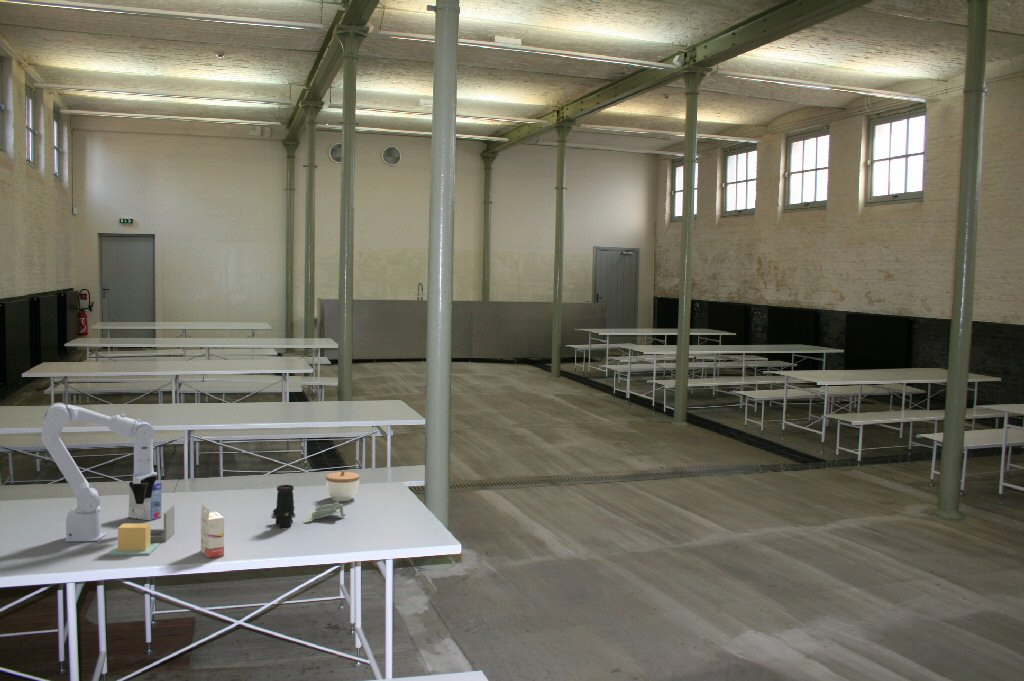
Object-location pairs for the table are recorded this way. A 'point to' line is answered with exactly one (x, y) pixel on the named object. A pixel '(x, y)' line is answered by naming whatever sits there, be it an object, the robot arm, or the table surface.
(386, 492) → the table surface
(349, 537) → the table surface
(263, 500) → the table surface
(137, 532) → the orange rectangular block
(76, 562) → the table surface
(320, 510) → the metal bracket
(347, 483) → the lidded bowl
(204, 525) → the ink cartridge box
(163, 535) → the grey angular piece
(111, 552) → the teal pad
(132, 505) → the ink cartridge box
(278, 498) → the scope
